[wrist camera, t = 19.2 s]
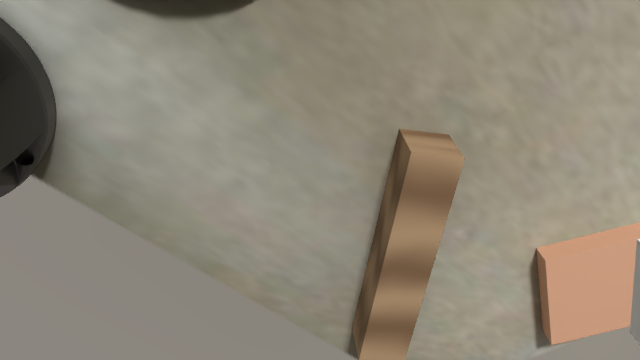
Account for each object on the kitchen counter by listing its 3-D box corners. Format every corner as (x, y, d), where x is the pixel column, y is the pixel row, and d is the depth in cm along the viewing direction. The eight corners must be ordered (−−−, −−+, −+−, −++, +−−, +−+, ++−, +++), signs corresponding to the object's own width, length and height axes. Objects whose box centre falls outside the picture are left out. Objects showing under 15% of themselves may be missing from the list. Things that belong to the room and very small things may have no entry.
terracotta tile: (545, 260, 50) (551, 345, 55) (661, 232, 50) (658, 319, 55) (534, 245, 52) (541, 328, 57) (646, 217, 52) (643, 303, 57)
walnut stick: (398, 127, 46) (411, 152, 42) (447, 133, 46) (464, 158, 42) (351, 325, 55) (358, 361, 51) (393, 328, 55) (403, 364, 51)
